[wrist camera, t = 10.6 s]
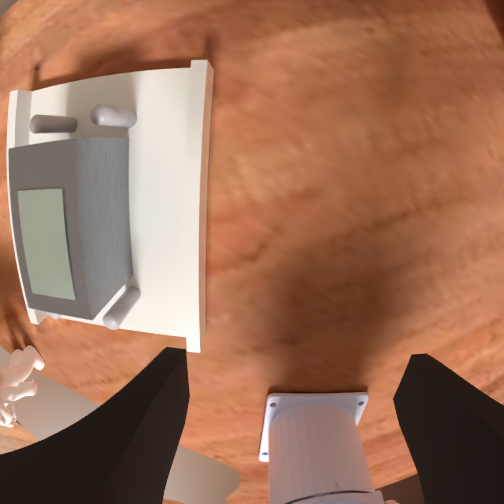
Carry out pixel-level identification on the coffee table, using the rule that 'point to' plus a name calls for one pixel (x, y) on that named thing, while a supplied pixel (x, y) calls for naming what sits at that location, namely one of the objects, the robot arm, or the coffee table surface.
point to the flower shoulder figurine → (17, 381)
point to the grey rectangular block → (71, 222)
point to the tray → (141, 184)
